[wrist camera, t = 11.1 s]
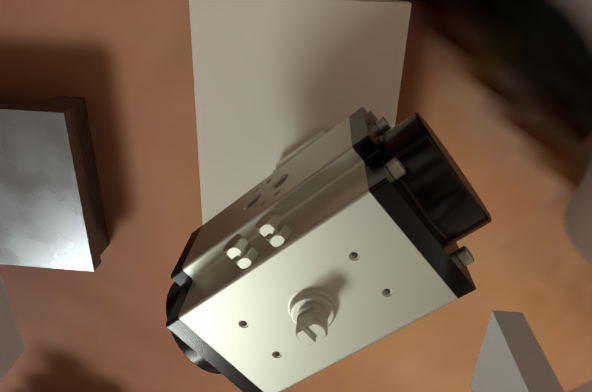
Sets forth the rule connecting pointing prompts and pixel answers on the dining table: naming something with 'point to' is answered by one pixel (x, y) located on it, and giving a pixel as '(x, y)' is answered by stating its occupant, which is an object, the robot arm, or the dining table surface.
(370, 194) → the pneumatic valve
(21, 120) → the stand slate
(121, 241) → the dining table surface
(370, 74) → the stand cream
